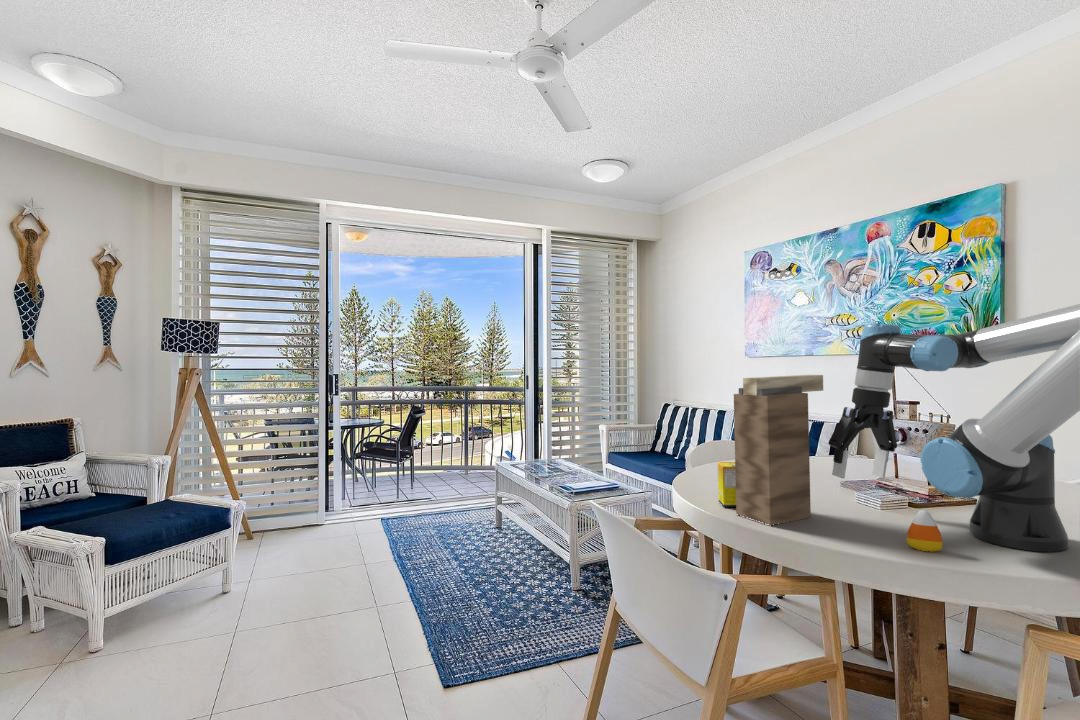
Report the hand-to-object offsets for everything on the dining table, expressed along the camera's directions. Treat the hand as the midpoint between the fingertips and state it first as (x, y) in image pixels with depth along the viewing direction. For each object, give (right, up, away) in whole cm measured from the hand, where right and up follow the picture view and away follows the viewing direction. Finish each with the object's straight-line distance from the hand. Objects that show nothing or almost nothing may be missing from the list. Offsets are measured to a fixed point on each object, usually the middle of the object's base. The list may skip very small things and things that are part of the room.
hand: (858, 476), depth 125 cm
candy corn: (0, -10, -21) cm, 24 cm away
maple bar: (-16, +20, +5) cm, 26 cm away
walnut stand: (-19, -10, +3) cm, 22 cm away
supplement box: (-26, -11, +13) cm, 31 cm away
